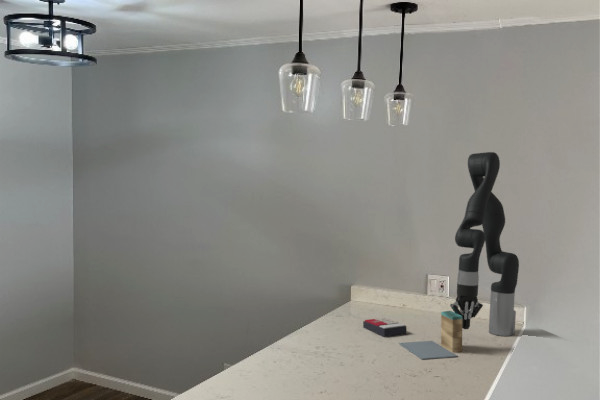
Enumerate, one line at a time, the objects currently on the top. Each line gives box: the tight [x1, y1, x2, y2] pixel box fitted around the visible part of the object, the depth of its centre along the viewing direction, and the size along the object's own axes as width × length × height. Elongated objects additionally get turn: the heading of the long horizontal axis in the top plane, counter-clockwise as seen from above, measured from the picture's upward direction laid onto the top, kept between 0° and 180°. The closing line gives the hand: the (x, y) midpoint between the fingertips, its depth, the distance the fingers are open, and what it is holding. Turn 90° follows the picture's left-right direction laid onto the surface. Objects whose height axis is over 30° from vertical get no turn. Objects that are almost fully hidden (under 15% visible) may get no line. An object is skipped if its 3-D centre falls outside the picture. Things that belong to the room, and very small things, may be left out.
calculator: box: [362, 317, 407, 338], centre depth 241 cm, size 11×4×15 cm
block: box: [440, 310, 463, 353], centre depth 220 cm, size 4×8×13 cm, turn 17°
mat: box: [398, 340, 458, 360], centre depth 218 cm, size 14×18×1 cm
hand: (465, 328), depth 222 cm, fingers closed
